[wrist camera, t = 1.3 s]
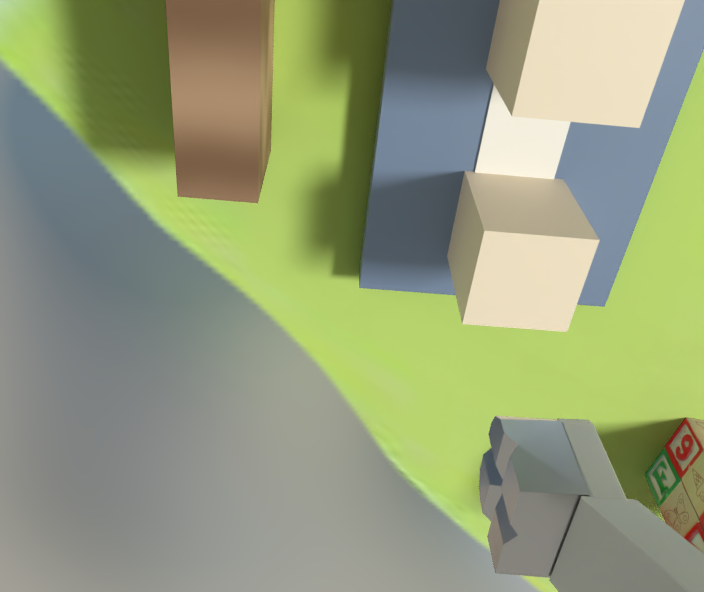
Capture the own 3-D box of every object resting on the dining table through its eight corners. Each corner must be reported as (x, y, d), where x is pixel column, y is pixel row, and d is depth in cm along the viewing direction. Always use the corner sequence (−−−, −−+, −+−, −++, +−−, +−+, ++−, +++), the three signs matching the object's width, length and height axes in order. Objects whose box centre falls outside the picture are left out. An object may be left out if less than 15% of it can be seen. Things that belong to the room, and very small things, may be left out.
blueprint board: (408, -140, 27) (425, -130, 21) (742, -103, 28) (853, -82, 22) (359, 273, 38) (360, 357, 32) (596, 291, 39) (642, 377, 33)
